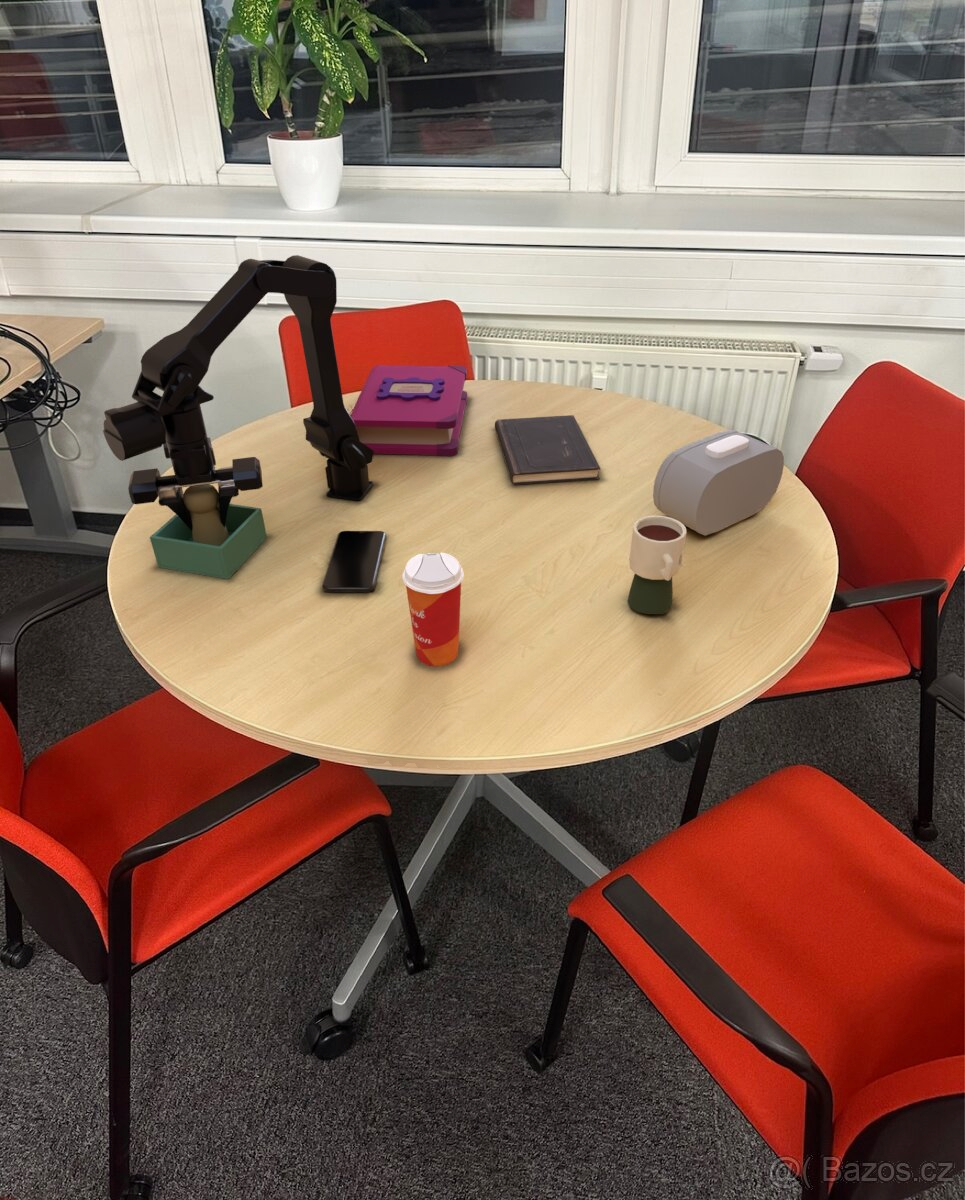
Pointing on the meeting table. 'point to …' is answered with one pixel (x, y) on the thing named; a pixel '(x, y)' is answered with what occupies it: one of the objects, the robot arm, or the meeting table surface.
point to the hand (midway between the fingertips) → (208, 528)
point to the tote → (205, 559)
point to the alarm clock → (717, 481)
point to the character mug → (655, 562)
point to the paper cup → (434, 606)
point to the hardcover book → (545, 450)
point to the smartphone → (355, 561)
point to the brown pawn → (205, 515)
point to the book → (412, 409)
